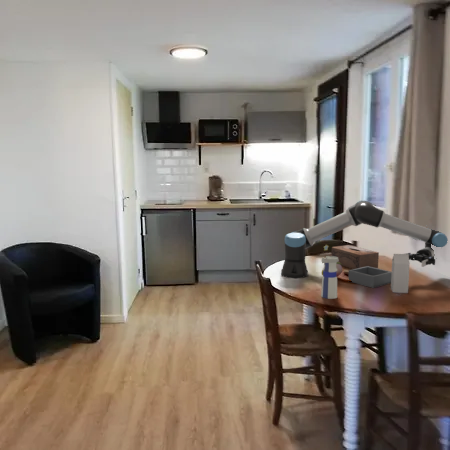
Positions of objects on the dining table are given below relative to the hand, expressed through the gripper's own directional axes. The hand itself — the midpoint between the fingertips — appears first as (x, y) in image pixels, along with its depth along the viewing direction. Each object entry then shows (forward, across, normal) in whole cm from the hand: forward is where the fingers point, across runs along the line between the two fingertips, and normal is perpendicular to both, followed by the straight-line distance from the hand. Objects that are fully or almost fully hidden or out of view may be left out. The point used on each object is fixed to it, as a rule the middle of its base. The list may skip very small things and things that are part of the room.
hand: (408, 262), depth 235 cm
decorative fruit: (+12, +37, -13) cm, 41 cm away
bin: (+5, +18, -13) cm, 23 cm away
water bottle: (+42, +21, -13) cm, 49 cm away
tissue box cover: (-24, +44, -13) cm, 52 cm away
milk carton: (+10, 0, -13) cm, 17 cm away
